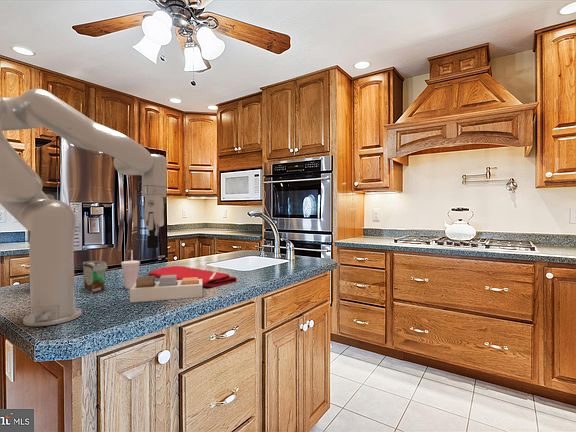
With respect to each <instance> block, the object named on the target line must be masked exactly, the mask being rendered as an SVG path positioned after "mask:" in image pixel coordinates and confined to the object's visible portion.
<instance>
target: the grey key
mask: <svg viewBox="0 0 576 432" xmlns="http://www.w3.org/2000/svg"><path fill="white" fill-rule="evenodd" d="M159 281H160V286H173V285H177V275H161V277H160V278H159Z"/></svg>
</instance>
